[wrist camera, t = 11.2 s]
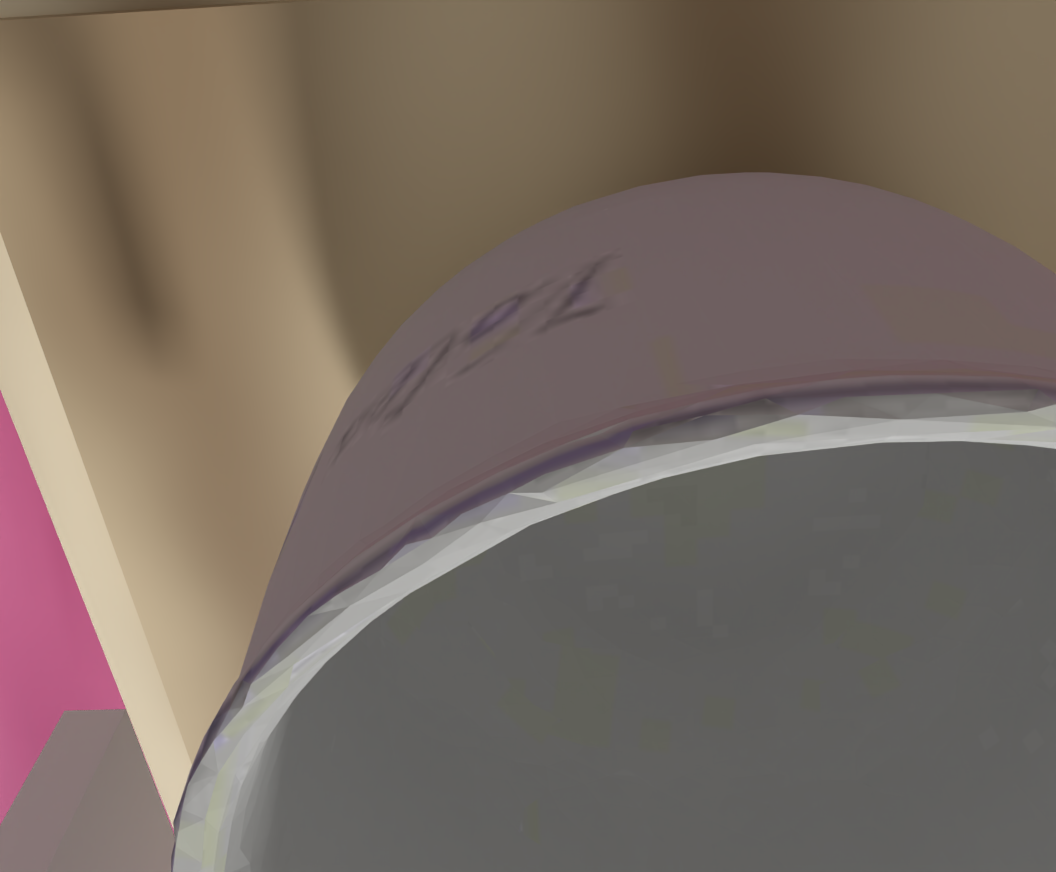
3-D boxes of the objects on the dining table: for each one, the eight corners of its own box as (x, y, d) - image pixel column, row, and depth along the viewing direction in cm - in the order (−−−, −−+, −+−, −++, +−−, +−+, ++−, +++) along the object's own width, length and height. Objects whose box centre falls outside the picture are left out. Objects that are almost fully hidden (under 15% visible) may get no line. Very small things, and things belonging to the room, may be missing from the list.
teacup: (447, -37, 12) (268, 186, 5) (1265, 228, 13) (2027, 700, 6) (270, 741, 19) (98, 1265, 12) (803, 860, 20) (917, 1396, 13)
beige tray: (236, 740, 24) (186, 878, 21) (-28, -90, 15) (-189, -62, 12) (1085, 730, 23) (1165, 876, 20) (1395, -190, 13) (1645, -188, 10)
